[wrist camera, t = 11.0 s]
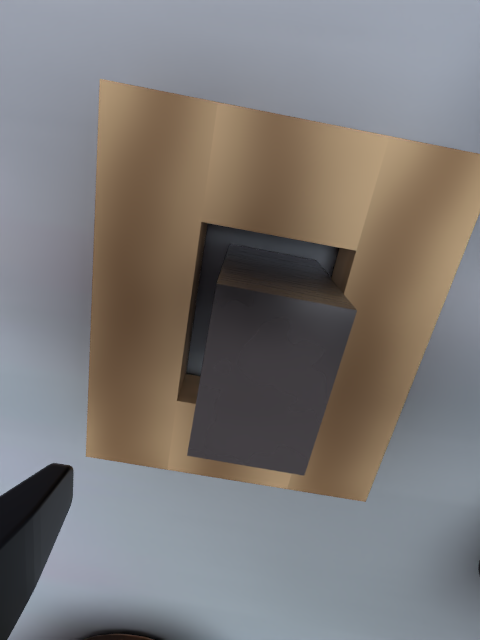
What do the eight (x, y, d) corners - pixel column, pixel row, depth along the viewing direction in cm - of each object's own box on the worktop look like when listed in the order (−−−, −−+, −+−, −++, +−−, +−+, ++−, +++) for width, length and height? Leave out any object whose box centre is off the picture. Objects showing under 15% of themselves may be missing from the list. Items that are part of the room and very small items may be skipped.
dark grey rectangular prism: (315, 260, 17) (357, 310, 10) (285, 374, 19) (304, 475, 12) (230, 243, 17) (216, 284, 10) (209, 360, 19) (187, 455, 12)
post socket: (462, 161, 15) (500, 158, 13) (352, 465, 21) (365, 501, 18) (124, 95, 15) (99, 78, 12) (104, 424, 20) (85, 456, 18)
